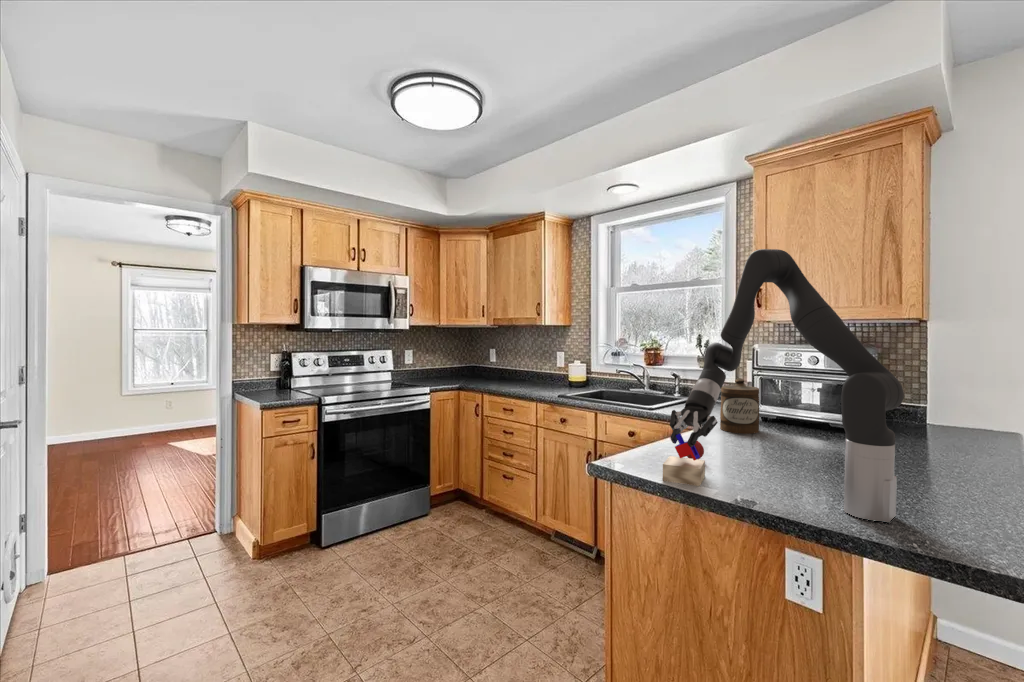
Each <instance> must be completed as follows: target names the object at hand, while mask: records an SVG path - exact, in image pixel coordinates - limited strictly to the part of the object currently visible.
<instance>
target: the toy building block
mask: <svg viewBox="0 0 1024 682" xmlns="http://www.w3.org/2000/svg"><path fill="white" fill-rule="evenodd" d="M681 433H682V432H681ZM681 433H680V434H678V435H676V437H677V443H678V444H676V445H675V446H674V448H675V450H676V453H677V455H678V457H680V458H687V456H689V455H691V456H692V458H693V460H697V459H698V458H699V457H700V456H699V454H698V451H697V449H696V447H695V445H694V446H693V447H689V445H688V444H687V442H688V440H687V441H685V440H684V437H683V436H682V434H681Z"/></svg>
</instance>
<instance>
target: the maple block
mask: <svg viewBox="0 0 1024 682" xmlns="http://www.w3.org/2000/svg"><path fill="white" fill-rule="evenodd" d="M705 476H706V460H705V459H697V460H693V459H691V458H688V457H683V458H680V457H679V456H673V455H669V456H668V457H667V458H666V460H665V461H664V462H663V464H662V481H663V482H668V483H669V482H670V483H675V484H681V483H682V484H683V485H688V484H689V485H690V486H695V487H701V486H700V485H702V483H703V481H704V479H705ZM689 485H688V486H689Z"/></svg>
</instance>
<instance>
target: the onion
mask: <svg viewBox="0 0 1024 682" xmlns="http://www.w3.org/2000/svg"><path fill="white" fill-rule="evenodd" d="M695 447H696V449H697V451H698V454H699V456H700V457H699V458H698V459H699V460H701V459H702V457H704V453H705V449H704V445H703V444H702V443H701V442H700V441H698V440H697V441H696V444H695ZM686 458H691V459H693V458H692V456H691V455H689V456H686Z"/></svg>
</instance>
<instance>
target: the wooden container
mask: <svg viewBox="0 0 1024 682" xmlns="http://www.w3.org/2000/svg"><path fill="white" fill-rule="evenodd" d="M720 395H721V396H720V412H719V413H720V414H719V416H720V418H719V419H720V421H719V424H720V425H719V428H720V430H721V431H723V432H727V433H734V434H742V435H743V434H744V435H752V434H753V435H755V434H757V433H759V432H760V388H758V386H757V387H755V386H751V385H746V384H745V379H743V378H741V377H738V378H736V379H735V383H734V384H733V385H731V384H730V385H729V384H728V385H723V386H722V388H721V390H720Z"/></svg>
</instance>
